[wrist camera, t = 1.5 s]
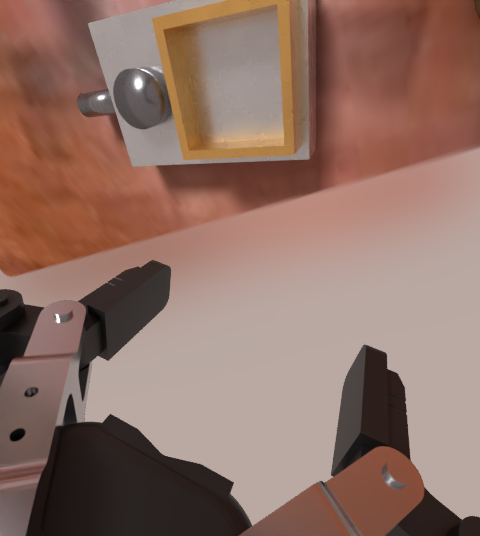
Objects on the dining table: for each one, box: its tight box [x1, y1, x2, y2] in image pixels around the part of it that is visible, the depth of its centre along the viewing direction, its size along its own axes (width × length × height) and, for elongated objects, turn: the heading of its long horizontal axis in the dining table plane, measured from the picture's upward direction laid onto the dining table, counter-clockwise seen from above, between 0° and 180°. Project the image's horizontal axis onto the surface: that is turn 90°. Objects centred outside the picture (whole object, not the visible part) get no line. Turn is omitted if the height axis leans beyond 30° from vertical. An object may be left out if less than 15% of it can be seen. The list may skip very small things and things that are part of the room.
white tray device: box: [77, 0, 316, 166], centre depth 30 cm, size 13×25×7 cm, turn 97°
